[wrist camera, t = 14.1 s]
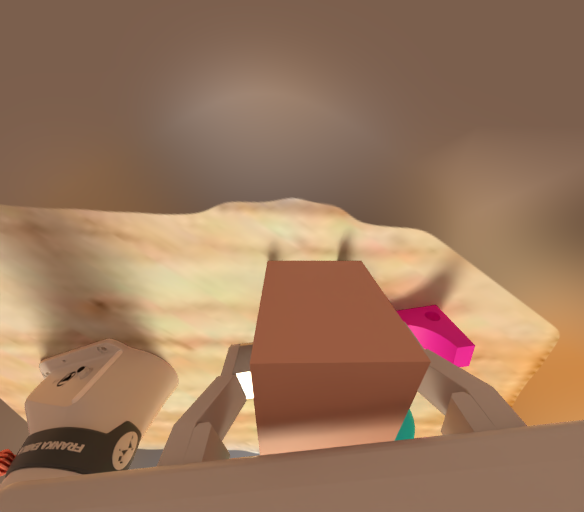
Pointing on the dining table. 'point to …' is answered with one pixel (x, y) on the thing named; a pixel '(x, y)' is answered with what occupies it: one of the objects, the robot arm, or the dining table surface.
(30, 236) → the dining table surface
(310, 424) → the terracotta block
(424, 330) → the toy block
